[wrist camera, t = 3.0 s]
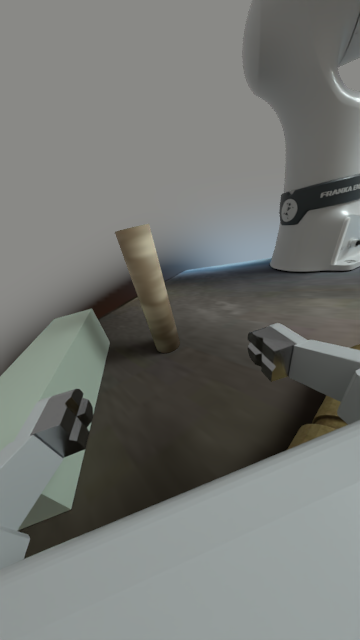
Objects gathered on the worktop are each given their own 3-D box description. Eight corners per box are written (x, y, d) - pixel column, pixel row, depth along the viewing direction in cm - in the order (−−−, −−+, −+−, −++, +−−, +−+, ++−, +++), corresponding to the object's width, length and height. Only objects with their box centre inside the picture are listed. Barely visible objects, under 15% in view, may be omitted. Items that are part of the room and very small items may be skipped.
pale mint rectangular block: (109, 342, 26) (91, 308, 23) (71, 509, 10) (-2, 471, 7) (77, 352, 25) (54, 319, 22) (-17, 544, 10) (-133, 517, 7)
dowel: (176, 334, 24) (147, 224, 17) (182, 348, 21) (150, 223, 14) (155, 341, 24) (116, 232, 17) (158, 356, 21) (112, 231, 14)
